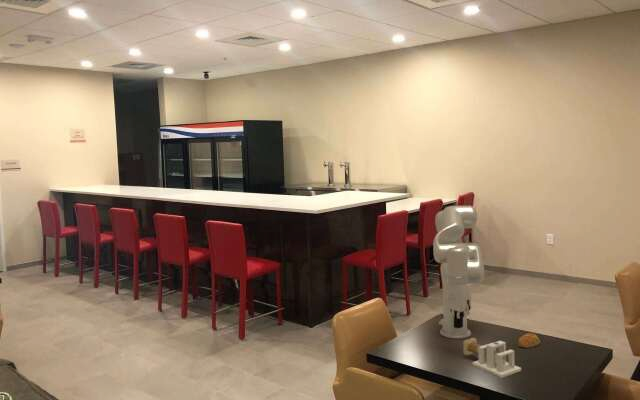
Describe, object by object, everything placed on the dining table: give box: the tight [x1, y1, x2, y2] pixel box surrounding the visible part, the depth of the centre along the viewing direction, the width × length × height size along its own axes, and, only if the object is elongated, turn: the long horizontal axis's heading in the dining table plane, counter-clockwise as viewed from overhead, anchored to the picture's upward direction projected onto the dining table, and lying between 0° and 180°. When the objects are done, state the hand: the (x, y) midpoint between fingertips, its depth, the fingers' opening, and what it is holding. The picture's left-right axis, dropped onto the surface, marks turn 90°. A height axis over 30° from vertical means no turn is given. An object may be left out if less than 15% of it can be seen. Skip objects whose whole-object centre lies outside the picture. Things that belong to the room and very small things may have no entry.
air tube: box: [462, 337, 507, 363], centre depth 186 cm, size 16×5×5 cm, turn 30°
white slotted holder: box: [471, 340, 522, 379], centre depth 181 cm, size 13×10×9 cm
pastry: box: [517, 332, 541, 349], centre depth 202 cm, size 9×7×4 cm
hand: (458, 327), depth 196 cm, fingers closed
